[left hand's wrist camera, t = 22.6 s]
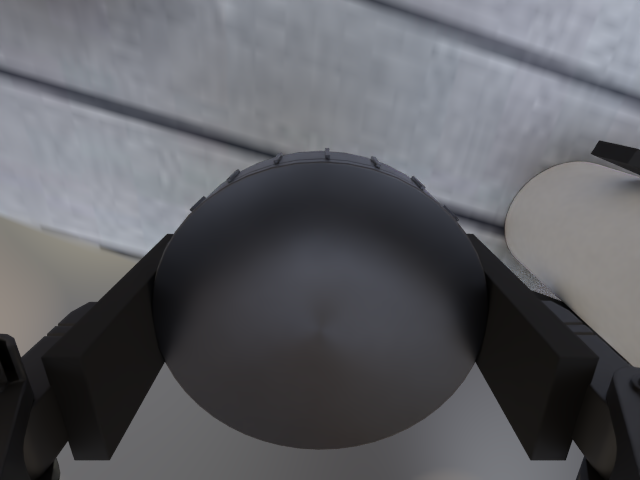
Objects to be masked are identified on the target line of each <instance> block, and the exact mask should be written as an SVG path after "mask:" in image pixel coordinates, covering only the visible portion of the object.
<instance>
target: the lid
mask: <svg viewBox="0 0 640 480" xmlns="http://www.w3.org/2000/svg"><path fill="white" fill-rule="evenodd" d="M190 211H192V212H191V213H190V214H189V215H188V217H187V218H186V219H185V220H184V222H183V223H182V224H181V225H180V227H179V228H178V229H177V230H176V231H175V233H174V235H173V236H172V238H171V240H170V241H169V242H168V243H167V245H166V248H165V250H164V253H163V255H162V258H161V260H160V263H159V266H158V268H157V272H156V277H155V281H154V286H153V296H152V315H153V323H154V328H155V333H156V338H157V342H158V346H159V348H160V351H161V353H162V355H163V358H164V360H165V362H166V364H167V366H168V368H169V369H170V371H171V373H172V374H173V376H174V378H175V379H176V380H177V382H178V383H179V384H180V386H181V387H182V388H183V389H184V391H185V392H186V393H187V394H188V395H189V396H190V397H191V398H192V399H193V400H194V401H195V402H196V403H197V404H198V405H199V406H200V407H202V408H203V409H204V410H205V411H207V412H208V413H209V414H210V415H212V416H213V417H214V418H216V419H218V420H219V421H221V422H222V423H224V424H226V425H227V426H229V427H231V428H233V429H235V430H237V431H239V432H241V433H243V434H245V435H248V436H251V437H254V438H256V439H259V440H262V441H265V442H269V443H273V444H277V445H281V446H287V447H293V448H300V449H318V450H319V449H340V448H347V447H354V446H359V445H363V444H368V443H372V442H376V441H378V440H381V439H384V438H387V437H390V436H393V435H395V434H397V433H399V432H401V431H404V430H406V429H408V428H410V427H411V426H413V425H415V424H416V423H418V422H420V421H421V420H423V419H425V418H426V417H427V416H429V415H430V414H431V413H433V412H434V411H435V410H437V409H438V408H439V407H440V406H441V405H442V404H443V403H444V402H445V401H447V399H449V398H450V397H451V396H452V395H453V393H454V392H455V391H456V390H457V389H458V387H459V386H460V385H461V384H462V382H463V381H464V380H465V378H466V376H467V375H468V373H469V372H470V370H471V368H472V367H473V365H474V363H475V361H476V359H477V356H478V354H479V352H480V350H481V347H482V343H483V340H484V335H485V331H486V325H487V319H488V290H487V285H486V279H485V274H484V271H483V268H482V265H481V262H480V259H479V256H478V254H477V252H476V250H475V248H474V246H473V245H472V243H471V241H470V239H469V237H468V236H467V234H466V233H465V231H464V230H463V229H462V228H461V226H460V225H459V224H458V222H457V221H458V220H459V219H458V218H457V217H456V216H455V215H454V214H453V213H452V212H451V211H450V210H449V209H448V208H447V207H446V206H445V205H444V206H442V205H441V204H440V203H439V202H438V201H437V200H436V199H435V198H433V197H432V196H431V195H430V194H429V193H428V192H427V191H426V190H425V186H424V185H423V184H421V183H420V182H419V181H418V180H417V179H416V178H415V177H414V176H413V177H412V178H409V177H408V176H407V175H405V174H403V173H401V172H399V171H397V170H396V169H394V168H392V167H390V166H388V165H386V164H383V163H380V162H379V161H378V160H377V159H376V158H375V157H373V156H372V157H371V159H369V158H366V157H362V156H357V155H352V154H348V153H341V152H329V148H325V151H314V152H298V153H293V154H288V155H283V156H282V153H278V154H277V156H276V157H275V158H272V159H269V160H266V161H263V162H260V163H257V164H255V165H253V166H251V167H249V168H247V169H245V170H243V171H241V172H240V171H239V169H238V170H236V171H235V172H234V173H233V174H232V175H231V176H230V177H229V178H228V179H227V181H225V182H224V183H222V184H221V185H220V186H219V187H217V188H216V189H215V190H214V191H213V192H212V193H211V194H210V195H209V196H208V197H207V198H205V197H204V196H203V197H202V198H201V199H200V200H199V201H198V202H197V203H196V204H195V205H194V206H193V207H192V208H191V209H190Z"/></svg>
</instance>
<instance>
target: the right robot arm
mask: <svg viewBox="0 0 640 480" xmlns="http://www.w3.org/2000/svg"><path fill="white" fill-rule="evenodd" d="M591 154H592V155H595V156H597V157H599V158H602V159H604V160H606V161H609V162H611V163H613V164H616V165H618V166H620V167H623V168H625V169H627V170H630V171H632V172H634V173H637V174H639V175H640V150H639V149H636V148H631V147H627V146H622V145H618V144H613V143H608V142H604V141H599V142H598V143H597V145H596V146H595V148H594V150H593V151H592V153H591ZM531 291H532V290H531ZM532 292H533V293H534V294H535V295H536V296H537V297H538V298H539V299H540V300H541V301H553V302H554V303H556V304H558V305H560V306H562V307H564V308H565V309H567V310H569V311H570V312H572V313H573V314H574V315H575V316H576V317H577V318H578V319H579V320H580V321H581V322H583V325H586V326H587V327H588V328H589V329H590V330H591V331H592V332H593V334H594V335H597V336H598V337H599V338H600V339H601V340H602V341H604V342H605V343H606V344H607V345H608V346H609V347H610V348H611V349H612V350H613V351H615V352H616V353H617V354H618V355H619V356H620V357H621V358H622V359H623V360H624V361H626V362H627V363H628V364H629V365H630V366H632V365H631V364H630V363H629V362H628V361H627V360H626V359H625V358H624V357H623V356H621V355H620V354H619V353H618V352H617V351H616V350H615V349H614V348H613V347H612V346H611V345H609V344H608V343H607V342H606V341H605V340H604V339H603V338H602V337H601V336H600V335H599V334H597V333H596V332H595V331H594V330H593V329H592V328H591V327H590V326H589V325H588V324H587V323H585V322H584V321H583V320H582V319H581V318H580V317H579V316H578V315H577V314H576V313H575V312H573V311H572V310H571V309H570V308H569V307H568V306H567V305H566V304H565V303H564V302H562V301H559V300H556V299H554V298H551V297H548V296H545V295H543V294H540V293H537V292H534V291H532ZM632 367H633V366H632Z"/></svg>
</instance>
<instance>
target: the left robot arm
mask: <svg viewBox="0 0 640 480" xmlns="http://www.w3.org/2000/svg"><path fill="white" fill-rule="evenodd" d="M173 235H174V234H167V235H166V236H165V237H164V238H163V239H162V240H161V241H160V242H159V243H158V244H157V245H155V246H154V247H153V248H152V249H151V250H150V251H149V252H148V253H147V254H146V255H145V256H144V257H143V258H142V259H141V260H140V261H139V262H138V263H137V264H136V265H135V266H134V267H133V268H132V269H131V270H130V271H129V272H128V273H127V274H126V275H125V276H124V277H123V278H122V279H121V280H120V281H119V282H118V283H117V284H116V285H115V286H114V287H112V288H111V290H109V291H108V292H107V293H106V294H105V295H104V296H103V297H102V298H101V299H100V300H99V301H98V302H89V303H87V304H85V305H83V306H81V307H79V308H78V309H76V310H74V311H72V312H71V313H70V314H68V315H67V316H66V317H65V318H64V319H63V320H62V321H61V322H60V323H59V324H58V326H55V327H54V328H53V329H52V330H51V331H50V332H49V333H48V334H47V336H45V337H43V338H42V339H41V340H40V341H39V342H38V343H37V344H36V345H34V346H33V347H32V348H31V349H30V350H29V351H28V352H27V353H26V354H25V355H24V356H22V357H21V356H20V353H19V351H18V348H17V345H16V342H15V339H14V338H13V337H11V336H9V335H8V334H0V480H59V479H60V469H59V464H58V461H57V458H56V457H57V455H58V454H59V453H60V451H61V450H62V448H63V447H64V446H65V444H66V443H67V441H68V442H69V445H70V448H71V451H72V454H73V457H74V460H110V459H111V457H112V455H113V453H114V452H115V450H116V448H117V446H118V444H119V443H120V441H121V439H122V437H123V436H124V434H125V432H126V430H127V428H128V427H129V425H130V423H131V421H132V419H133V418H134V416H135V414H136V412H137V411H138V409H139V407H140V405H141V403H142V402H143V400H144V398H145V396H146V394H147V393H148V391H149V389H150V387H151V386H152V384H153V382H154V380H155V378H156V376H157V375H158V373H159V371H160V369H161V368H162V366H163V364H164V362H165V360H164V358H163V355H162V353H161V351H160V348H159V346H158V342H157V338H156V333H155V328H154V323H153V315H152V296H153V286H154V281H155V277H156V272H157V268H158V266H159V263H160V260H161V258H162V255H163V253H164V250H165V248H166V245H167V243H168V242H169V241H170V240H171V238H172V236H173ZM467 236H468V237H469V239H470V241H471V243H472V245H473V246H474V248H475V250H476V252H477V254H478V256H479V259H480V262H481V265H482V268H483V271H484V274H485V279H486V285H487V290H488V319H487V325H486V331H485V335H484V340H483V343H482V347H481V350H480V352H479V354H478V356H477V359H476V361H475V362H476V364H477V365H478V367H479V369H480V371H481V373H482V374H483V376H484V378H485V380H486V382H487V383H488V385H489V387H490V389H491V390H492V392H493V394H494V396H495V398H496V399H497V401H498V403H499V405H500V406H501V408H502V410H503V412H504V414H505V415H506V417H507V419H508V421H509V423H510V424H511V426H512V428H513V430H514V432H515V433H516V435H517V437H518V439H519V440H520V442H521V444H522V446H523V447H524V449H525V451H526V453H527V455H528V456H529V458H530V460H566V458H567V455H568V452H569V449H570V446H571V443H572V440H574V442H575V443H576V445H577V446H578V447H579V449H580V450H581V452H582V453H583V454H584V458H583V461H582V464H581V467H580V470H579V473H578V475H577V478H576V480H640V368H639V367H632V366H630V365H629V364H628V363H627V362H626V361H624V360H623V359H622V358H621V357H620V356H619V355H618V354H617V353H616V352H615V351H613V350H612V349H611V348H610V347H609V346H608V345H607V344H606V343H605V342H604V341H602V340H601V339H600V338H599V337H598V336H597V335H594V334H593V332H592V331H591V330H590V329H589V328H588V327H587V326H586V325H583V322H581V321H580V320H579V319H578V318H577V317H576V316H575V315H574V314H573V313H572V312H570V311H569V310H567V309H565V308H564V307H562V306H560V305H558V304H556V303H554V302H553V301H541V300H540V299H539V298H538V297H537V296H536V295H535V294H534V293H533V292H532V291H531V290H530V289H529V288H528V287H527V286H526V285H525V284H524V283H523V282H522V281H521V280H520V279H519V278H518V277H517V276H516V275H514V274H513V273H512V272H511V271H510V270H509V269H508V268H507V267H506V266H505V265H504V264H503V263H502V262H501V261H500V260H499V259H498V258H497V257H496V256H495V255H494V254H493V253H492V252H491V251H490V250H489V249H488V248H487V247H486V246H485V245H484V244H483V243H482V242H481V241H480V240H479V239H478V238H477V237H476V236H475V235H474V234H467Z"/></svg>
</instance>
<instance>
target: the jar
mask: <svg viewBox="0 0 640 480" xmlns="http://www.w3.org/2000/svg"><path fill="white" fill-rule="evenodd" d="M505 237H506V242H507V245H508V248H509V250H510V251H511V253H512V255H513V256H514V257H515V258H516V259H517V260H518V261H519V262H520V263H521V264H522V265H523V266H524V267H525V268H526V269H528V270H529V271H530V272H531V273H532V274H533V275H534V276H535V277H536V278H537V279H538V280H540V281H541V282H542V283H543V284H544V285H545V286H546V287H547V288H548V289H549V290H551V291H552V292H553V293H554V294H555V295H556V296H557V297H558V298H559V299H560V300H561V301H563V302H564V303H565V304H566V305H567V306H568V307H569V308H570V309H571V310H572V311H573V312H575V313H576V314H577V315H578V316H579V317H580V318H581V319H582V320H583V321H584V322H585V323H587V324H588V325H589V326H590V327H591V328H592V329H593V330H594V331H595V332H596V333H597V334H599V335H600V336H601V337H602V338H603V339H604V340H605V341H606V342H607V343H608V344H609V345H611V346H612V347H613V348H614V349H615V350H616V351H617V352H618V353H619V354H620V355H621V356H623V357H624V358H625V359H626V360H627V361H628V362H629V363H630V364H631V365H632V366H633V367H639V368H640V177H638V176H635V175H631V174H628V173H625V172H621V171H618V170H615V169H611V168H608V167H605V166H602V165H598V164H595V163H590V162H581V161H578V162H568V163H563V164H560V165H557V166H554V167H551V168H549V169H547V170H545V171H543V172H541V173H540V174H538V175H537V176H535V177H534V178H533V179H531V180H530V181H529V182H528V183H527V184H526V185H525V186H524V187H523V188H522V189H521V190H520V191H519V193H518V194H517V196H516V197H515V198H514V200H513V202H512V204H511V206H510V208H509V211H508V213H507V217H506V222H505Z"/></svg>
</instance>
